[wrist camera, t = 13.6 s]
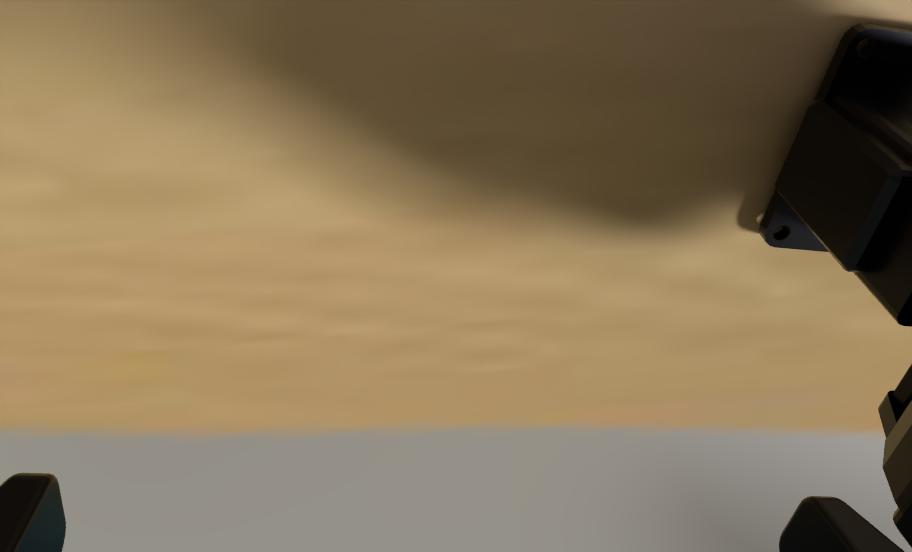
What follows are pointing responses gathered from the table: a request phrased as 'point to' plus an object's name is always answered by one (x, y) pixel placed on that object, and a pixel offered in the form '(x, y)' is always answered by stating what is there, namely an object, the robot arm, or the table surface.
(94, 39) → the table surface
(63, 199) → the table surface
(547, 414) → the table surface
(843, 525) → the robot arm
